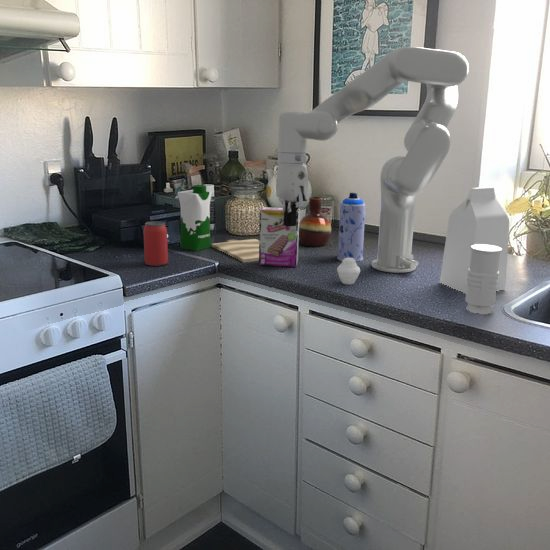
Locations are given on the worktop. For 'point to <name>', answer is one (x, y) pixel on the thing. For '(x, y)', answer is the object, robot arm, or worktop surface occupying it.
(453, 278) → the milk
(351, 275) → the white rounded jar
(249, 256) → the cutting board
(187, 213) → the milk carton
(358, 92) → the robot arm
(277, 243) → the candy bar box
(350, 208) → the aerosol can
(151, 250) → the beer can
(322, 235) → the vase
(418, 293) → the worktop surface
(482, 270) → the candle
